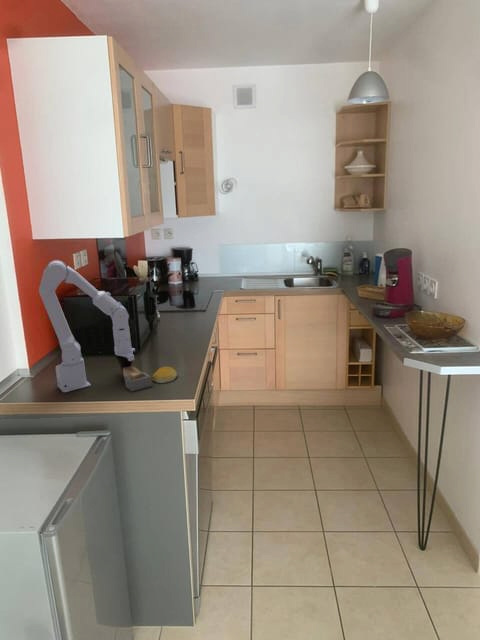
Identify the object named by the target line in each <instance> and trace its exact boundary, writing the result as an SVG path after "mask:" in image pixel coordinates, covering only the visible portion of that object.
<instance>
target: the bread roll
mask: <svg viewBox="0 0 480 640" xmlns="http://www.w3.org/2000/svg"><path fill="white" fill-rule="evenodd" d="M177 377H178V373H177V371H176V370H175V369H174V368H173V367H170V366H163V367H160V368H158V369H157V370H156V371H155V372H154V373H153V374H152V375H151V380H152V382H155V383H157V384H166V383H169V382H172V381H175V379H176V378H177Z"/></svg>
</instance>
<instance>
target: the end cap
mask: <svg viewBox="0 0 480 640" xmlns="http://www.w3.org/2000/svg"><path fill="white" fill-rule="evenodd" d="M142 373H143V377H142V378H138V379H135V380H132V379H131V378H129V377H125V380H124V382H125V383H124V384H125V388H127V389H128V390H129V391H130V392H135V391H138V390H143V389H146V388H151V387H153V383H152V382H153V380H152V375H150V374H148V373H146V371H142Z"/></svg>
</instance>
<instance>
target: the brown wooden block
mask: <svg viewBox="0 0 480 640" xmlns="http://www.w3.org/2000/svg"><path fill="white" fill-rule="evenodd" d="M122 374H124V375H123V381H125V377H129V378H131V379H132V380H135V379H138V378H142V377H143V371H140V369H138V368H136V367H135V366H133V365H131V366H129V367H125V368H123V373H122Z"/></svg>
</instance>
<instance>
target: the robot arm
mask: <svg viewBox="0 0 480 640" xmlns="http://www.w3.org/2000/svg"><path fill="white" fill-rule="evenodd" d="M63 281H64V283H66V284H72V285H75V286H76V287H77V288H79V289H80V290H82V292H84V293H85V294H86V295H87V296H89V297H91V299H92V304H93V305H94V306H95V307H97V309H99V310H101V312H103V313H104V314H105V315H106V316H110V318H111V321H112V332H113V333H112V335H113V341H114V342H113V343H114V347H113V348H114V354H115V355H116V356H115V357H114V358H115V360H116V361H117V363H118V365H119V367H120V371H121V372H122V374H123V368H125V367H129V366H132V364H133V361H135V355H134V354H133V353H134V352H136V348H134V347H132V341H131V332H130V326H129V318H130V315H129V312H128V310H127V308H125V307H124V305H122V303H121V302H120V301H117V300H115V299H114V298H113V297H112V296H111V295H112V294H111V293H110V292H109V291H105V290H98V289H96V287H95V286H93V285H92V284H91V283H89V281H88V280H87V279H86V278H84V276H82V275H81V274H80V273H79V272H77V271H76V270H75V269H73V268H72V267H70V266H69V265H66V263H65V262H64V261H62V260H58V259H54V260H52V261H50V262H48V264H47V266H46V267H45V269H44V271H43V274H42V277H41V280H40V284H39V288H38V293H39V295H40V297H41V301H42V303H43V306H44V308H45V311H46V312H47V315H48V317H49V320H50V322H51V324H52V327H53V329H54V333H55V334H56V337H57V339H58V343H59V346H60V349H61V360H62V361H61V363H60V364H58V365H55V374H56V381H57V387H58V388H59V389H60V391H61V392H63V393H64V394H65V393H68V392H71V391H75V390H80V389H83V388H88V387H91V383H90V382H89V381H88V380H87V374H86V367H85V366H86V365H85V360H84V357H82V352H81V349H82V347H81V345H80V343H79V342H78V341H77V340H76V339H75V337H74V334H73V333H72V331H71V329H70V326H69V323H68V321H67V319H66V317H65V314H64V311H63V309H62V305H61V304H60V301H59V298H58V297H57V294H56V290H57V289H58V286H59V285H60V284H61V283H62V282H63ZM123 376H124V374H123Z"/></svg>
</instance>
